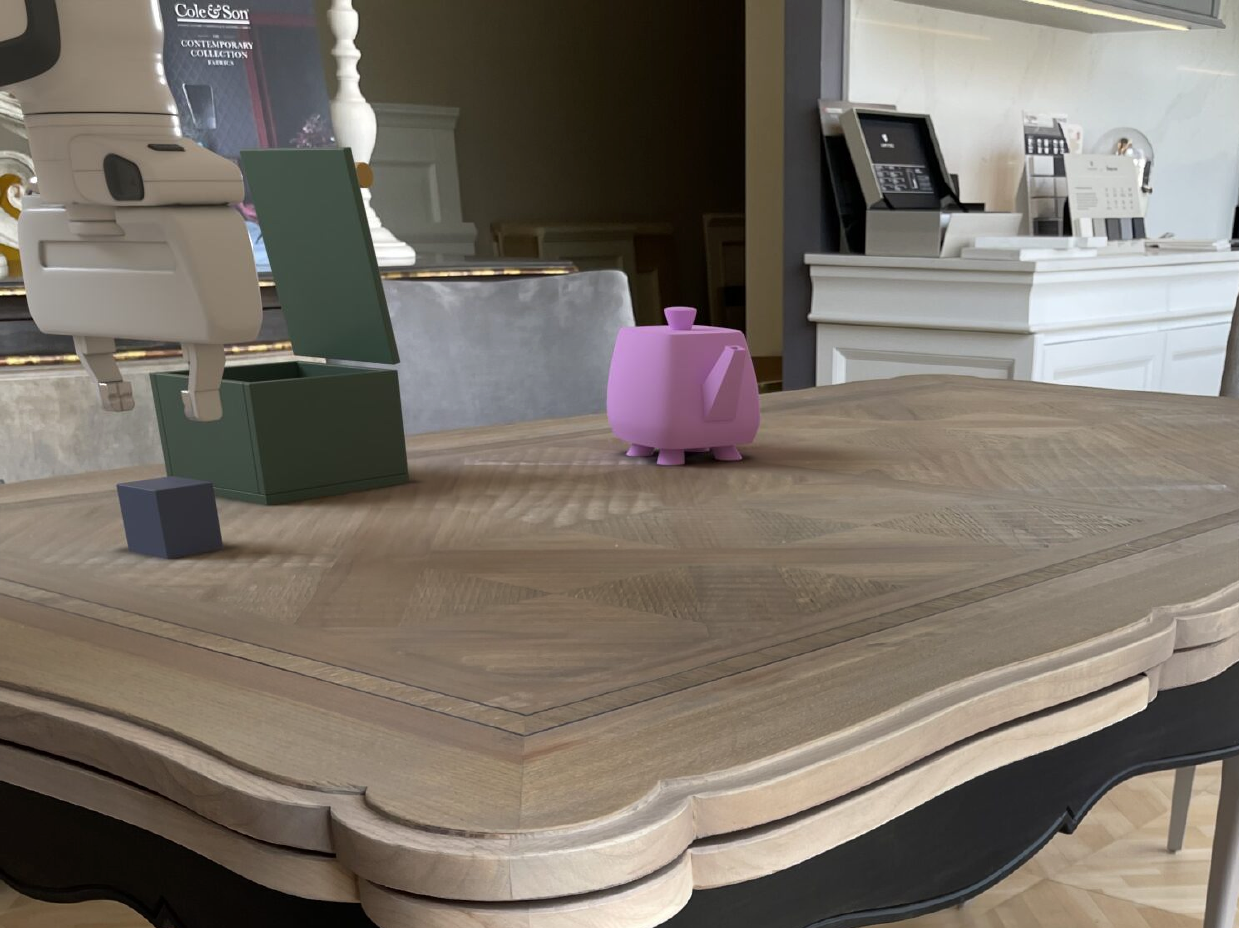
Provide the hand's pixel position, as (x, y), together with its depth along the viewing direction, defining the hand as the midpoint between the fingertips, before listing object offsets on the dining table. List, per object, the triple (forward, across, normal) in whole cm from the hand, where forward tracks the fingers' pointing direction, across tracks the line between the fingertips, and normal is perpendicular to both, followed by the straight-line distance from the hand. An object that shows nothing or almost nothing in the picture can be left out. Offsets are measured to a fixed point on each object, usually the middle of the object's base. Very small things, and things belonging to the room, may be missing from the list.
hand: (160, 415), depth 102 cm
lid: (-8, -16, +27) cm, 33 cm away
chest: (+9, -16, +22) cm, 28 cm away
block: (+8, 0, -1) cm, 9 cm away
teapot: (+10, -2, +55) cm, 56 cm away
